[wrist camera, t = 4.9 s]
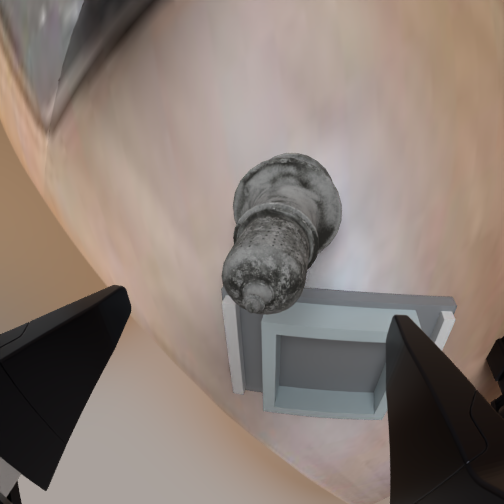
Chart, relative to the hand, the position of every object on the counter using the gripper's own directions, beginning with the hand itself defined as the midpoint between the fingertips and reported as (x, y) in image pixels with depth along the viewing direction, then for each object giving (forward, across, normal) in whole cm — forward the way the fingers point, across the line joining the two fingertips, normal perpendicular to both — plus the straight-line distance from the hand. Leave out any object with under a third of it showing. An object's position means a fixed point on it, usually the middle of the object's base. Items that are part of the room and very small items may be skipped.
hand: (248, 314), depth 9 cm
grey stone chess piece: (+12, 0, 0) cm, 12 cm away
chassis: (+12, -4, +13) cm, 18 cm away
